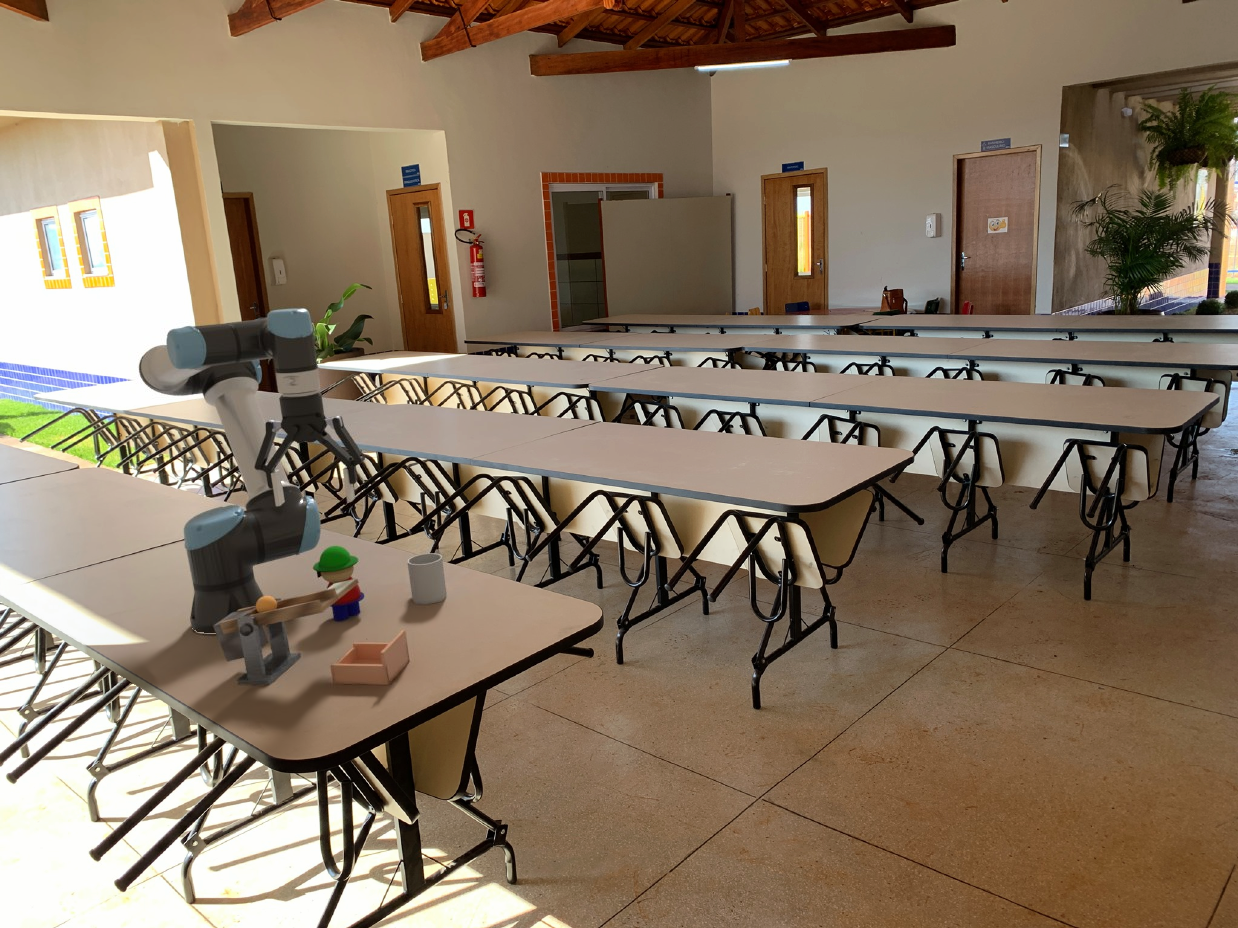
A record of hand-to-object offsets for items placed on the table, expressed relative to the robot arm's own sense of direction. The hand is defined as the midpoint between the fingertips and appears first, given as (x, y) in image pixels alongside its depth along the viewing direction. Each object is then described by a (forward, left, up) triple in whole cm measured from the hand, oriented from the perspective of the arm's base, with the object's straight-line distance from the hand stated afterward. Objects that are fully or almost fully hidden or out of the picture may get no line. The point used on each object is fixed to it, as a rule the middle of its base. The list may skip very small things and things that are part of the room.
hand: (315, 502), depth 174 cm
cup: (+12, +17, -27) cm, 34 cm away
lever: (+1, -14, -21) cm, 25 cm away
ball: (-2, -18, -14) cm, 23 cm away
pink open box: (+16, -18, -26) cm, 36 cm away
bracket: (-4, -18, -26) cm, 32 cm away
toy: (-2, +7, -27) cm, 28 cm away
